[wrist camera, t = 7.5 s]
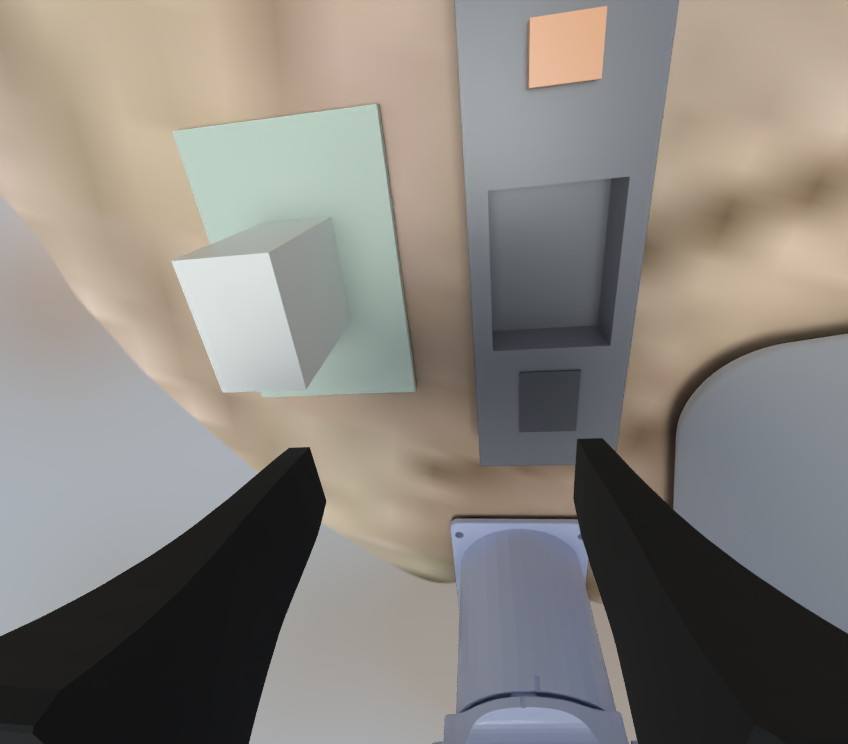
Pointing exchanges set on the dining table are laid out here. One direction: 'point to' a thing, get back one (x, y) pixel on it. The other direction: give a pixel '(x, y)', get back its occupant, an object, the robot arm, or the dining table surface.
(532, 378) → the grey slotted plate
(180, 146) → the rubber mat
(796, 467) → the plastic bottle
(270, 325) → the white rectangular block
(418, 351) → the dining table surface
